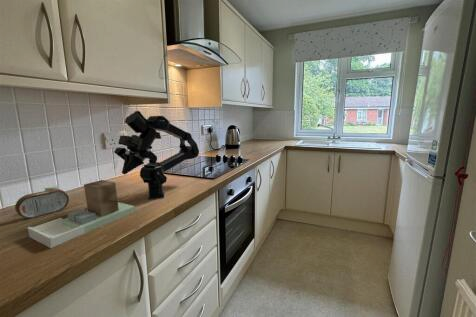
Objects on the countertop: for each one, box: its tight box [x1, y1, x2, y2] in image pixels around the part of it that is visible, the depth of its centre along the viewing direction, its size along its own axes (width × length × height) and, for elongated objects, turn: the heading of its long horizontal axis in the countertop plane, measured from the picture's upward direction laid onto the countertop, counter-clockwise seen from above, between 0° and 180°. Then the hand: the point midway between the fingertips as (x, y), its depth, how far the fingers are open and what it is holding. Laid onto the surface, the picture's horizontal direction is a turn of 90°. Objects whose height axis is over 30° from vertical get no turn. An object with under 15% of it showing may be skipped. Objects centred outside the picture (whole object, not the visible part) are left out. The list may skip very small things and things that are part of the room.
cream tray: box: [27, 217, 86, 249], centre depth 70 cm, size 9×13×3 cm, turn 60°
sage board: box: [62, 201, 136, 234], centre depth 81 cm, size 18×12×2 cm, turn 150°
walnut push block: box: [83, 179, 119, 217], centre depth 81 cm, size 6×8×10 cm
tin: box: [14, 188, 70, 219], centre depth 85 cm, size 15×3×8 cm, turn 141°
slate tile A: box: [75, 210, 96, 225], centre depth 74 cm, size 4×4×2 cm
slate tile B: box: [67, 208, 88, 222], centre depth 77 cm, size 4×4×2 cm
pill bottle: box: [44, 184, 59, 191], centre depth 92 cm, size 5×5×8 cm
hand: (123, 173), depth 87 cm, fingers closed
